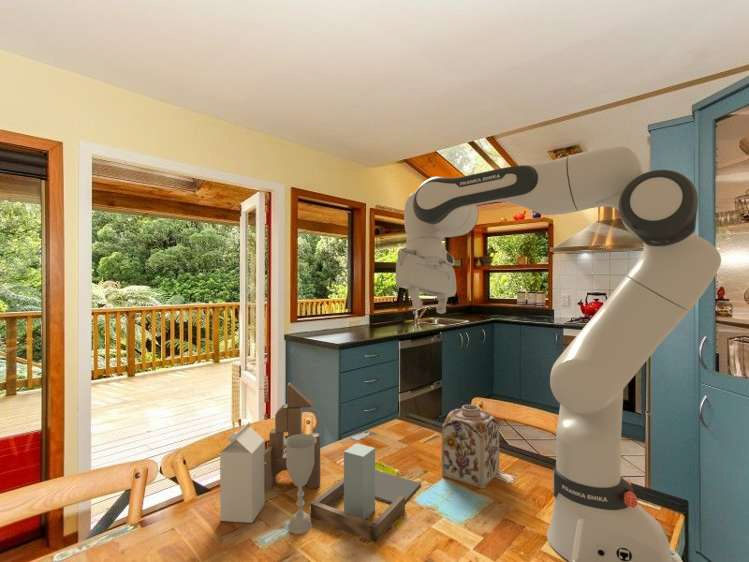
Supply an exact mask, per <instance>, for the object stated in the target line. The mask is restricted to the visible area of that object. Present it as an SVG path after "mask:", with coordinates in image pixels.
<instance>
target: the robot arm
mask: <svg viewBox="0 0 749 562" xmlns="http://www.w3.org/2000/svg"><path fill="white" fill-rule="evenodd" d="M499 202H500V203H510V204H513V205H518V206H521V207H523V208H526V209H528V210H530V211H532V212H534V213H537V214H539V215H543V216H554V215H555V216H557V215H567V214H572V213H575V212H576V213H577V212H579V211H580V212H581V211H585V210H589V209H593V208H600V207H601V208H602V207H603V208H604V207H606V208H607V207H608V208H612V209H615V210H617V211H618V213H619V216H620V218H621V222H622V224H623V226H624V228H626V231H627V230H628V232H629V233H630V234H632V235H633V236H634V237H636V238H638V239H639V240H641V241H642V242H643V249H642V253H641V255H640V257H639V258H638V260H637V261H636V263H635V264H634V265H633V266H632V268H631V269H630V270H629V271H628V273H627V274H626V275H625V276H624V278H623V279H622V280H621V281H620V282H619V284H618V285H617V286H616V288H614V290H613V292H612V293H611V294H610V295H609V296H608V298H606V300H605V302H604V303H603V304H602V305H601V306H600V307H599V309H598V310H597V312H595V313H594V315H593V316H592V317H591V318H590V320H589V321H588V322H587V323H586V324H585V326H583V328H582V329H581V330H580V331H579V332H578V333H577V335H576V336H575V337H574V339H573V340H572V341H571V342H570V343H569V345H568V346H567V347H566V348H565V349H564V350H563V352H562V353H561V354H560V355H559V357H558V358H557V359H556V361H554V363H553V365H552V368H551V371H550V375H549V377H550V378H549V385H550V390H551V392H552V395H553V397H554V398H555V400H556V401H557V402H558V403H559V411H558V418H557V423H556V438H555V439H556V441H555V442H556V444H555V446H556V447H555V448H556V454H555V456H556V457H555V458H556V460H555V461H556V463H555V464H554V468H553V472H552V474H553V475H552V491H553V495H554V502H553V509H552V515H551V519H550V523H549V525H548V528H547V531H546V537H547V541H548V542H549V544H550V546H551V548H552V549H554V550H555V551H556V552H557V554H559V555H560V556H561V557H562V558H564V559H565V560H567V561H568V562H684V561H683V560H682V557H681V556H680V555H679V554H678V552H677V551H676V550H675V549H674V548H673V547H671V546H672V545H671V546H670V543H669V539H668V537H667V535H666V531H665V530H664V528H663V526H662V524H660V522H659V520H657V519H656V518H654V517H653V516H652V515H650V513H648V512H647V511H646V510H645V509H643V507H642V506H640V505H639V504H638V498H637V495H636V494H635V493H634V487H633V486H632V483H631V481H630V478H627V480H625V479H624V478H623V477H622V476H621V474H622V473H621V472H622V471H621V470H622V469H621V468H622V463H621V462H622V460H621V459H622V452H621V451H622V429H623V428H622V427H623V426H622V425H623V408H624V407H623V404H624V389H625V388H626V386H627V385H628V384H629V383H630V382H631V380H632V379H633V378H634V377H635V376H636V374H637V373H638V372H639V371H640V369H641V368H642V367H643V365H644V364H645V363H646V362H647V360H649V358H650V357H651V356H652V355H653V353H654V352H655V351H656V349H657V348H658V347H659V346H660V345H661V344H662V343H663V341H664V340H665V339H666V338H667V337H668V336H669V335H670V334H671V332H673V330H674V329H675V328H676V327H677V326H678V325H679V323H680V322H682V320H683V319H684V318H685V316H686V315H687V314H688V313H689V311H691V310H692V309H693V308H694V306H695V305H696V304H697V303H698V301H699V300H700V299H701V297H702V296H703V294H704V293H705V292H706V291H707V289H708V288H709V286H710V284H711V283H712V281H713V280H714V278H715V276H716V274H717V272H718V271H719V269H720V267H721V264H722V256H721V254H720V252H719V250H718V249H717V248H716V247H715V246H714V245H713V244H712V243H711V242H710V241H708V240H706V239H705V238H703V237H702V236H699V235H698V234H697V233H695V230H696V225H697V213H698V207H699V206H698V205H699V196H698V191H697V189H696V186H695V185H694V183H693V182H692V180H690V178H688V177H687V176H685V175H684V174H682V173H681V172H678V171H675V170H670V169H654V170H649V171H646V172H643V169H642V165H641V162H640V158H639V157H638V156H637V154H636V153H635V152H634V151H633V150H632V149H631V148H628V147H627V146H611V147H604V148H603V147H601V148H597V149H591V150H585V151H582V152H579V153H574V154H571V155H567V156H563V157H560V158H556V159H555V158H554V159H551V160H547V161H542V162H538V163H533V164H523V165H514V166H508V167H501V168H496V169H492V170H487V171H486V170H485V171H483V172H477V173H473V174H468V175H463V176H459V177H445V176H444V177H443V176H432V177H431V178H428V179H426V180H425V181H424V182H422V183H421V185H419V187H417V189H416V191H414V192H413V193H411V194H409V195H408V197H407V198H406V201H405V204H404V209H403V210H404V213H403V214H404V215H403V216H404V217H403V220H404V231H405V234H406V243H405V247H401V248H399V250H397V259H396V264H395V283H396V285H397V286H398V288H403V289H405V290H407V293H408V295H409V297H410V300H411V302H412V309H415V310H420V309H423V308H424V305H423V303H424V302H423V300H421V298H420V295H419V293H424V294H427V295H430V296H434V297H436V299H437V301H438V303H437V305H436V306H435V309H436V313H437V314H441V315H442V314H445V313H446V312H447V310H446V309H447V307H446V306H447V302H448V298H451V297H454V296H456V293H457V278H456V272H455V271H456V270H455V268H454V267H453V266H455V264H456V262H455V258H454V257H453V256H452V255H451V253H449V251H447V249H446V248H445V246H443V238H456V237H462V236H465V235H467V234H469V233H470V232H471V231H472V230H473V229H474V228H475V227H476V224H477V222H478V220H479V209H478V206H479V205H480V206H481V205H486V204H492V203H499Z"/></svg>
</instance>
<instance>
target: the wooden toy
mask: <svg viewBox="0 0 749 562" xmlns="http://www.w3.org/2000/svg"><path fill="white" fill-rule="evenodd" d="M286 385H287V386H286V388H287V389H286V393H287V395H286V396H287V397H286V398H287V399H286V400H287V403H284V404H282V405H281V406H280V408H279V409H278V410H277V411H276V413H275V414H274V415H275V416H274V417H275V418H274V419H275V421H274V424H275V425H274V426H275V427H274V428H271V430H270V433H269V437H268V439H269V446H268V447H266V449H264V491H272V489H273V486H274V483H275V481H276V479H277V476H278V474H280V473H281V472H284V471H288V470H287V467H286V452H285V445H284V440H285V433H287V438H288V437H290V436H292V435H297V434H304V432H303V408H312V406H313V403H312V401H311V400H309V398H307V397H306V395H304V394H303V393H302V392H301V391H300V390H299V389H298V388H297V387H296V386H295V385H294V384H292V382H288V384H286ZM308 435H312V436H314V437H315V438H316V439H317V441H316V443H315V445H314V466H313V470H312V473H311V475H310V477H309V479H308V482H307V484H306V485H307V487H308V488H309V489H317V488H319V487H320V486H321V435H320V433H318V432H312V433H308Z"/></svg>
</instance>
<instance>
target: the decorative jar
mask: <svg viewBox="0 0 749 562" xmlns="http://www.w3.org/2000/svg"><path fill="white" fill-rule="evenodd" d="M441 427H442V434H441V475H442V476H443V477H445V478H449V479H452V480H454V481H457V482H460V483H463V484H465V483H466V485H468V486H472V487H475V488H477V489H480V490H483V489H484V488H485V487H487V485H488V484H489V483H490V482H491V481H492V480H493V478H494V477H496V475H497V474H498V473H499V472H500V423H499V422H498V420H497V419H496V418H495V416H494V415H492V414H491V413H490V412H488V411H487V410H483V409H481V408H480V406H478V405H475V404H463V405H461V408H455V409H453V410H450V411H449V412H448V414H447V416H446V418H445V420H444V422H443V423H442V426H441Z"/></svg>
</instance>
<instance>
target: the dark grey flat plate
mask: <svg viewBox="0 0 749 562" xmlns="http://www.w3.org/2000/svg"><path fill="white" fill-rule="evenodd" d="M421 486H422V483H421V482H418V481H415V480H412V479H408V478H405V477H401V476H397V475H393V474H391V473H387V472H384V471H380V470H377V469H375V500H379V501H381V502H385V503H387V504H390V505H391V504H392V503H393V502H394V501H395V500H396V499H397V498H398V497H399V496H400V495H402V496H405V503H406V502H407V501H408V500H409V499H410V498H411V497H412V495H414V494H415V492H417V490H418V489H419V488H420V487H421Z"/></svg>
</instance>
